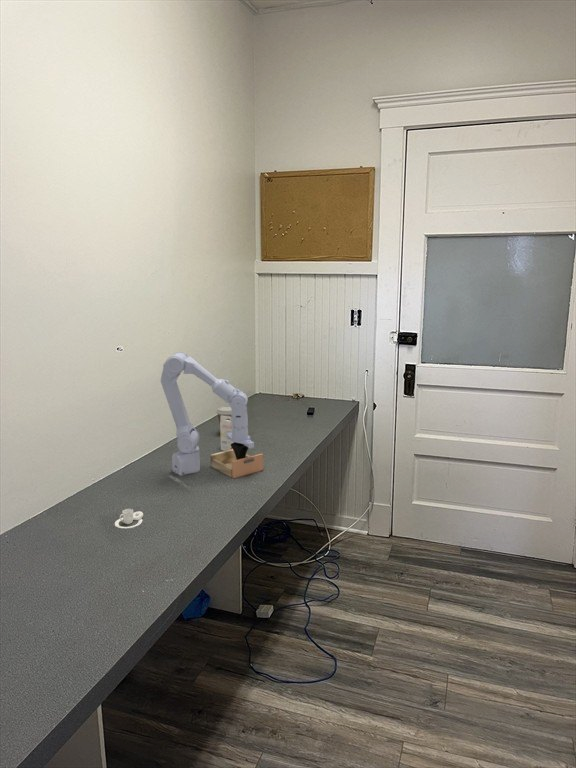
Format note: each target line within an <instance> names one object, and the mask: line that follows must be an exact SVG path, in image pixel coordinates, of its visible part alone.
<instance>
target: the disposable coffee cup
mask: <svg viewBox="0 0 576 768" xmlns="http://www.w3.org/2000/svg"><path fill="white" fill-rule="evenodd" d="M216 413H217V417H218V418H217V419H218V424H219V425H220V416H221V415H222V416H229V417H231V414H232V409H231V407H230V405H222V406H218V407H217V409H216ZM226 420H229V421H231V420H230V419H226Z"/></svg>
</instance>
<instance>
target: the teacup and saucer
mask: <svg viewBox="0 0 576 768" xmlns="http://www.w3.org/2000/svg"><path fill="white" fill-rule="evenodd" d="M121 512H122V513H121V514H119V519H117V520H116V521H114V526H115V527H116V528H118V529H123V530H125V529H132V528H135V527H138V526H140V525H141V524H142V523H143V517H144V513H143V511H135V512H134V509H133V508H126V509H123V510H122V511H121ZM134 521H138V522H137V523H136V524H134V525H130V524H132V523H134ZM120 522H122V523H124V524H125V525H129V526H121V525H120V524H119V523H120Z"/></svg>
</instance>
